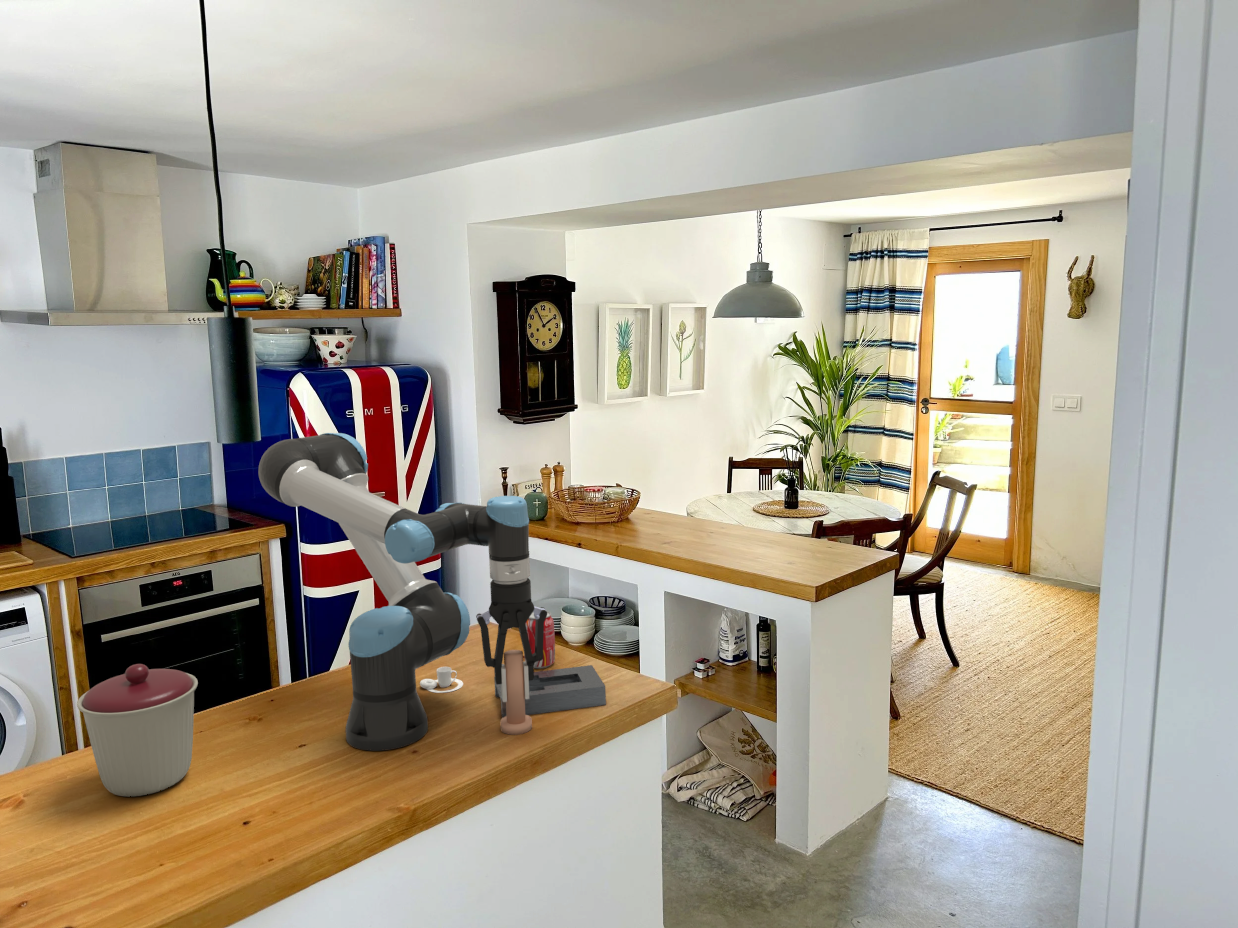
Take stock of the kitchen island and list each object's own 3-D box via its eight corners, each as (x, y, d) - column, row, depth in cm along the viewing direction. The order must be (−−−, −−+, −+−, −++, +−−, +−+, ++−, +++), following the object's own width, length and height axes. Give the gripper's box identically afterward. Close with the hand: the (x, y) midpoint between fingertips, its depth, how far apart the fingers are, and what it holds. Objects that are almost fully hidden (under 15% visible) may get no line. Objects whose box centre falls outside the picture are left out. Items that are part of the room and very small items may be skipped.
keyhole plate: (502, 718, 176) (501, 698, 176) (495, 694, 188) (494, 676, 187) (605, 704, 182) (605, 685, 181) (592, 682, 193) (591, 664, 192)
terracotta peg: (502, 736, 168) (499, 660, 166) (498, 723, 174) (495, 649, 172) (534, 732, 170) (531, 656, 168) (529, 719, 176) (526, 646, 173)
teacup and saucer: (415, 692, 191) (414, 674, 190) (433, 678, 199) (432, 660, 198) (452, 696, 188) (451, 678, 188) (469, 682, 196) (468, 664, 195)
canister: (73, 817, 143) (58, 692, 140) (105, 765, 160) (92, 652, 157) (196, 799, 148) (184, 678, 145) (214, 750, 165) (203, 641, 162)
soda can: (520, 662, 206) (518, 612, 204) (549, 656, 209) (547, 607, 207) (530, 672, 200) (528, 620, 198) (560, 666, 203) (558, 616, 201)
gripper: (467, 588, 162) (473, 711, 165) (557, 580, 166) (561, 699, 170) (463, 577, 169) (469, 695, 173) (550, 570, 173) (554, 685, 177)
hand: (515, 697), depth 171 cm, fingers closed on terracotta peg, 3 cm apart
